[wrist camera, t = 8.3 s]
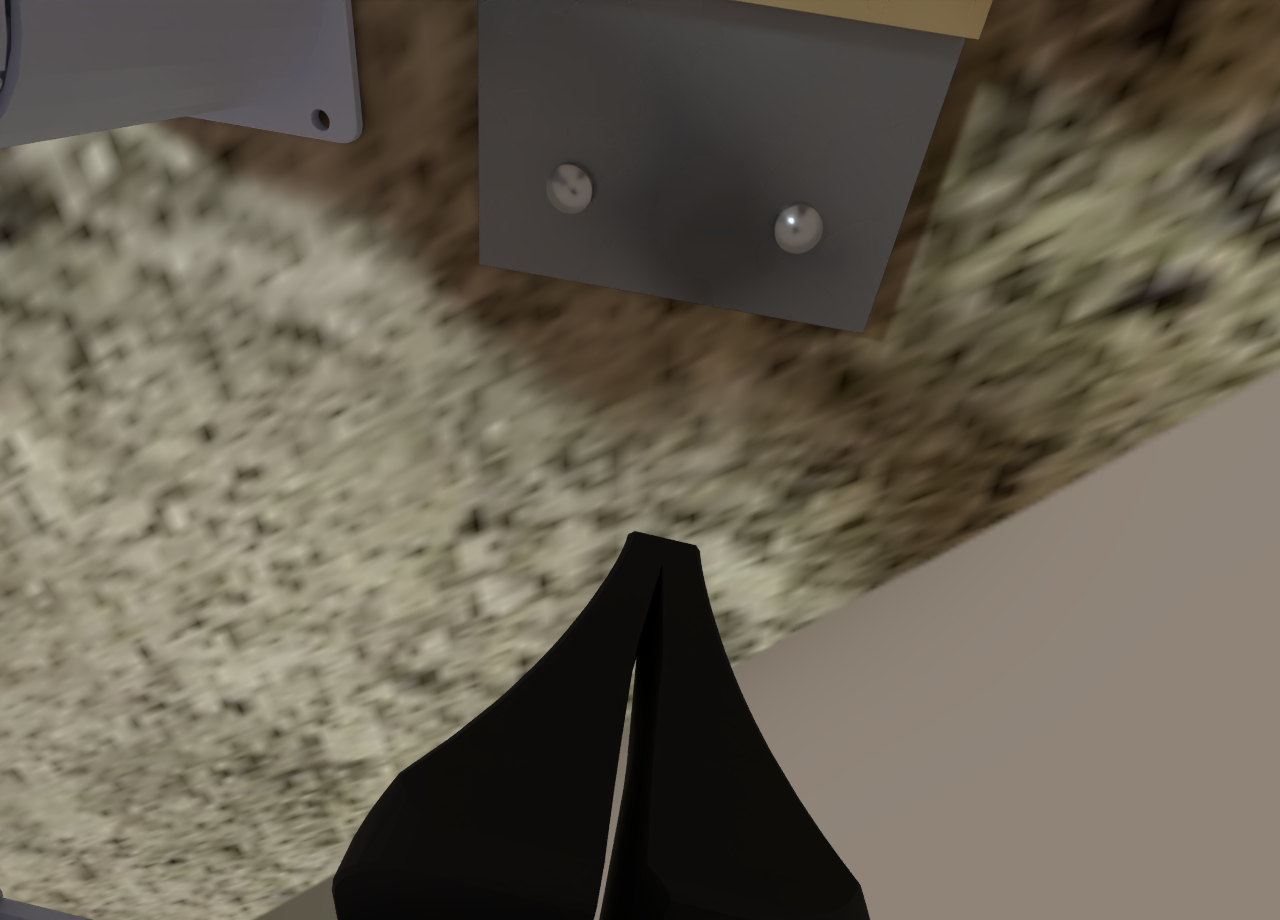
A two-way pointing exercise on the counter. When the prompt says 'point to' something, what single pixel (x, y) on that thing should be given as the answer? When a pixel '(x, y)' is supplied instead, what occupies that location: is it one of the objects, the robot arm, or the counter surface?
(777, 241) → the hinge leaves
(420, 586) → the counter surface
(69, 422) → the counter surface
